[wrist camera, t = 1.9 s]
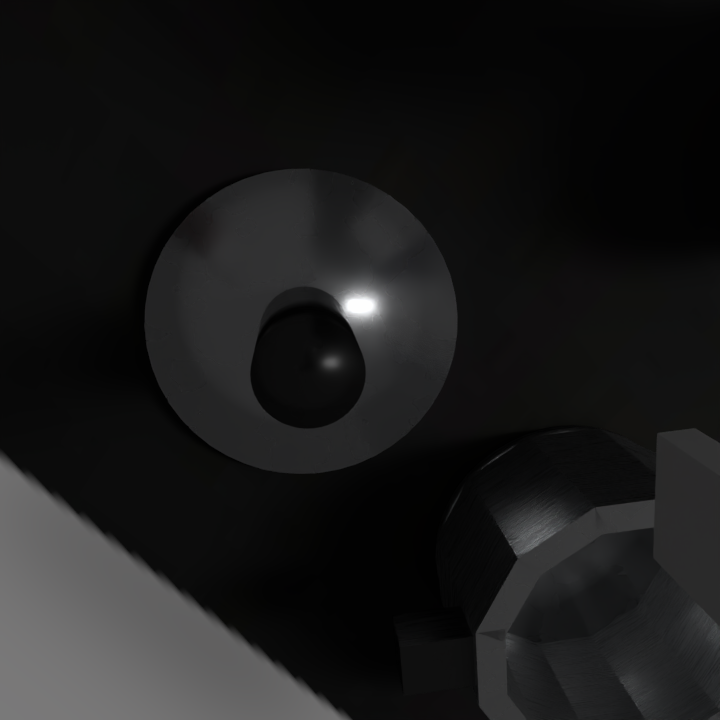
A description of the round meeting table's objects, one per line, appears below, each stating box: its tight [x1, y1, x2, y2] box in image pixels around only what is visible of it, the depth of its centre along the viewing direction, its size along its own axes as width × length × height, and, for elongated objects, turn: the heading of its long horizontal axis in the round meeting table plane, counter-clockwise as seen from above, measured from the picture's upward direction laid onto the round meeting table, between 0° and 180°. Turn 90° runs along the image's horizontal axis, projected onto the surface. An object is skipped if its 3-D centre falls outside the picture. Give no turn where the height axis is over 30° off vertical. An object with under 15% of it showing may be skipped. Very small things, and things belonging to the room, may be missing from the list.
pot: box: [392, 426, 720, 720], centre depth 31 cm, size 13×26×8 cm, turn 95°
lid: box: [145, 169, 457, 474], centre depth 27 cm, size 14×14×8 cm
